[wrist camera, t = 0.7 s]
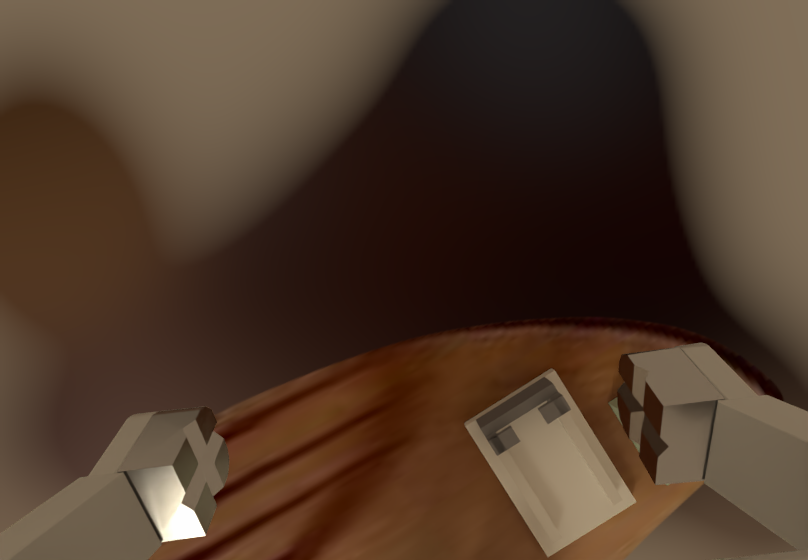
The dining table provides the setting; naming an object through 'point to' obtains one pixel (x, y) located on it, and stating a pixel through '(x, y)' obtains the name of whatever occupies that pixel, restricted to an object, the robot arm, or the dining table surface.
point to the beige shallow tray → (550, 462)
